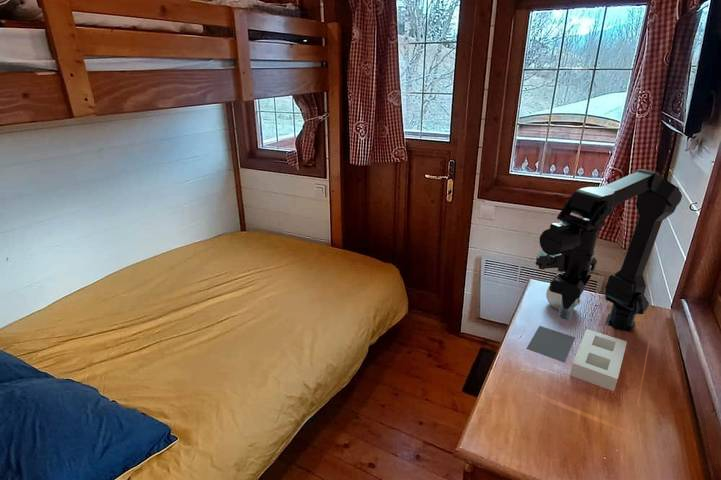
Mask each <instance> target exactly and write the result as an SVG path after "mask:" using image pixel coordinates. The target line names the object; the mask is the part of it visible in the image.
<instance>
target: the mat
mask: <svg viewBox="0 0 721 480" xmlns="http://www.w3.org/2000/svg"><path fill="white" fill-rule="evenodd" d="M575 339H576V337H575V336H573V335H569V334H566V333H563V332H560V331H557V330H555V329H551V328H548V327H545V326H541V325H539V326H538V328H537V329H536V331H535V333H534V334H533V336H532V337H531V339H530V341H529V343H528V345H527V347H526V348H525V350H529V351H531V352H534V353H537V354H539V355H543V356H545V357H549V358H551V359H554V360H557V361H559V362H563V363H566V360H567V358H568V355H569V353H570V351H571V349H572V347H573V344H574V341H575Z"/></svg>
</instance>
